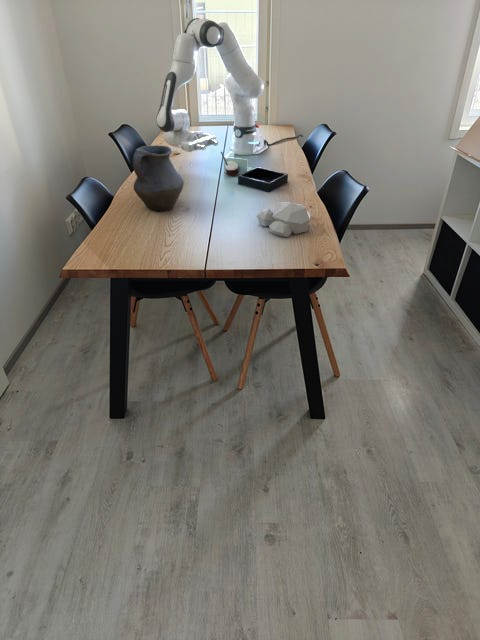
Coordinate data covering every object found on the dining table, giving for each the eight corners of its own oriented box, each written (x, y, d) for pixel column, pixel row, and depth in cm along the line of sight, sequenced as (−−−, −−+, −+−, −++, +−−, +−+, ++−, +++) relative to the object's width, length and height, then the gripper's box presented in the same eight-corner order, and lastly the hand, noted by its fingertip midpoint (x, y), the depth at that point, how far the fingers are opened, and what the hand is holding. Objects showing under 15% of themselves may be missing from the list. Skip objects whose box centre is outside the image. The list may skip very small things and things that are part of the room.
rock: (283, 242, 157) (284, 217, 151) (249, 224, 170) (249, 200, 164) (319, 229, 166) (322, 205, 160) (285, 212, 179) (286, 189, 173)
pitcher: (195, 203, 187) (191, 142, 172) (163, 222, 172) (155, 157, 157) (157, 194, 196) (150, 135, 181) (124, 211, 181) (113, 149, 166)
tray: (257, 175, 215) (257, 166, 213) (287, 182, 207) (288, 173, 204) (237, 184, 206) (237, 175, 203) (268, 192, 197) (269, 183, 194)
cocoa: (241, 173, 218) (240, 148, 211) (240, 177, 213) (240, 152, 206) (222, 173, 218) (221, 148, 211) (221, 177, 213) (220, 152, 206)
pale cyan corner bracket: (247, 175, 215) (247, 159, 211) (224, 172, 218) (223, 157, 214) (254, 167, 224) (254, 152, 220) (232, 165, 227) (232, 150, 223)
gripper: (175, 139, 212) (196, 143, 206) (203, 130, 225) (223, 134, 219) (176, 152, 216) (197, 157, 209) (203, 143, 229) (224, 147, 222)
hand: (211, 145), depth 214 cm, fingers open, 8 cm apart
